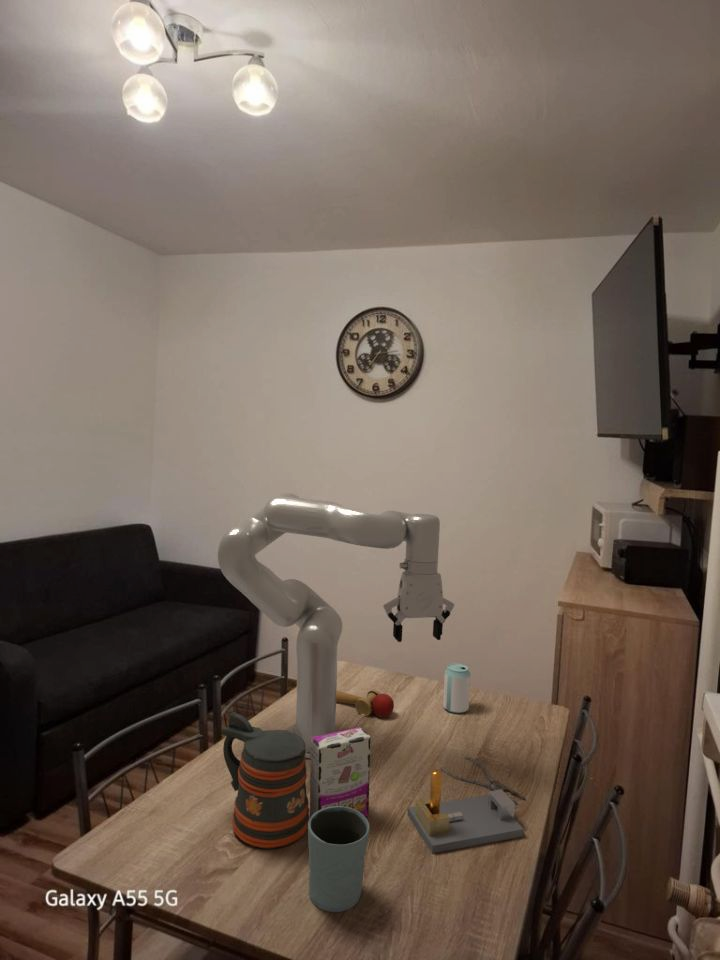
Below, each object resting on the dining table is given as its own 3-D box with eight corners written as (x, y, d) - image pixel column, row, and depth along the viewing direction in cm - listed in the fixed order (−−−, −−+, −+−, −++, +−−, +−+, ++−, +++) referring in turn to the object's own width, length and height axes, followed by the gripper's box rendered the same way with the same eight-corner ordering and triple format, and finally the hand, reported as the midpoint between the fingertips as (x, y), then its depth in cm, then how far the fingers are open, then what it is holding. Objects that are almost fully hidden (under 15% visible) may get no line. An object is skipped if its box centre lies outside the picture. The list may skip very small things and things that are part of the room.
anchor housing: (500, 820, 123) (501, 805, 122) (487, 805, 127) (488, 791, 127) (513, 818, 123) (514, 803, 123) (500, 803, 128) (501, 789, 128)
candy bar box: (357, 802, 129) (360, 725, 128) (369, 816, 125) (372, 736, 124) (307, 816, 124) (309, 736, 123) (317, 830, 120) (320, 747, 118)
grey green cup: (318, 866, 110) (320, 800, 109) (374, 880, 107) (376, 812, 106) (296, 907, 100) (298, 835, 99) (356, 924, 97) (359, 850, 97)
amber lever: (431, 826, 120) (434, 775, 119) (427, 819, 122) (429, 769, 121) (463, 820, 122) (466, 770, 121) (459, 814, 124) (461, 765, 123)
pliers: (459, 752, 150) (538, 784, 138) (459, 756, 150) (538, 788, 138) (437, 768, 143) (518, 804, 130) (437, 772, 143) (518, 808, 130)
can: (453, 701, 180) (455, 660, 179) (473, 709, 175) (475, 667, 174) (437, 707, 176) (439, 666, 175) (457, 717, 170) (459, 673, 169)
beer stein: (197, 830, 119) (199, 727, 117) (240, 790, 132) (242, 698, 131) (285, 859, 112) (289, 750, 110) (321, 814, 125) (325, 716, 124)
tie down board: (432, 853, 114) (432, 845, 114) (407, 814, 126) (407, 807, 126) (523, 836, 120) (523, 829, 120) (491, 800, 132) (492, 794, 132)
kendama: (328, 712, 174) (384, 721, 164) (328, 688, 174) (385, 695, 165) (343, 707, 180) (399, 715, 170) (344, 684, 181) (399, 691, 171)
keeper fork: (429, 836, 117) (429, 820, 117) (415, 814, 123) (415, 800, 123) (448, 832, 118) (449, 817, 118) (433, 811, 125) (434, 797, 124)
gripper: (391, 571, 140) (387, 646, 142) (462, 570, 145) (458, 642, 146) (380, 564, 147) (377, 635, 149) (448, 563, 152) (445, 632, 154)
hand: (417, 639), depth 148 cm, fingers open, 9 cm apart
